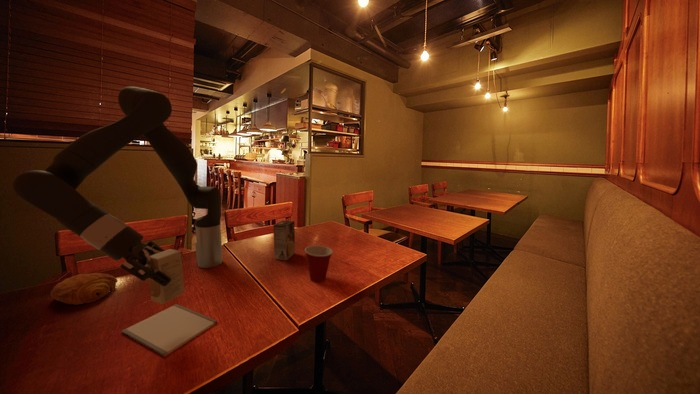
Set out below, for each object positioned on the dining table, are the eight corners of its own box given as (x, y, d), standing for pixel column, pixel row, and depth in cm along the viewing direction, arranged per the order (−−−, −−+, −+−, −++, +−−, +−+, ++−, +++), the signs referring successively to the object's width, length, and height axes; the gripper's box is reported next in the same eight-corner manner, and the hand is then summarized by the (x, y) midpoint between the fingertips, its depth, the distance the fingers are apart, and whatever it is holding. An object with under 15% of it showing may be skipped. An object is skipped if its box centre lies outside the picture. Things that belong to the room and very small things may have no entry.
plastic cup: (335, 284, 97) (336, 253, 95) (306, 287, 94) (306, 255, 92) (329, 271, 108) (329, 243, 106) (302, 274, 105) (302, 245, 103)
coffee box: (282, 252, 127) (282, 220, 125) (295, 253, 126) (295, 221, 124) (273, 259, 119) (273, 224, 116) (286, 260, 117) (286, 226, 115)
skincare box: (173, 290, 73) (170, 248, 71) (185, 293, 71) (182, 250, 70) (149, 301, 67) (145, 256, 65) (161, 305, 65) (157, 258, 64)
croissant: (71, 318, 77) (68, 294, 75) (43, 300, 82) (40, 277, 80) (127, 294, 90) (126, 273, 88) (100, 279, 95) (98, 259, 93)
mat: (121, 333, 68) (121, 330, 68) (176, 306, 81) (176, 303, 81) (163, 356, 61) (163, 354, 60) (216, 322, 73) (216, 320, 73)
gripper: (110, 233, 57) (176, 277, 63) (137, 218, 70) (190, 255, 76) (82, 259, 56) (151, 301, 62) (115, 239, 69) (170, 275, 75)
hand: (172, 276), depth 69 cm, fingers closed on skincare box, 7 cm apart
